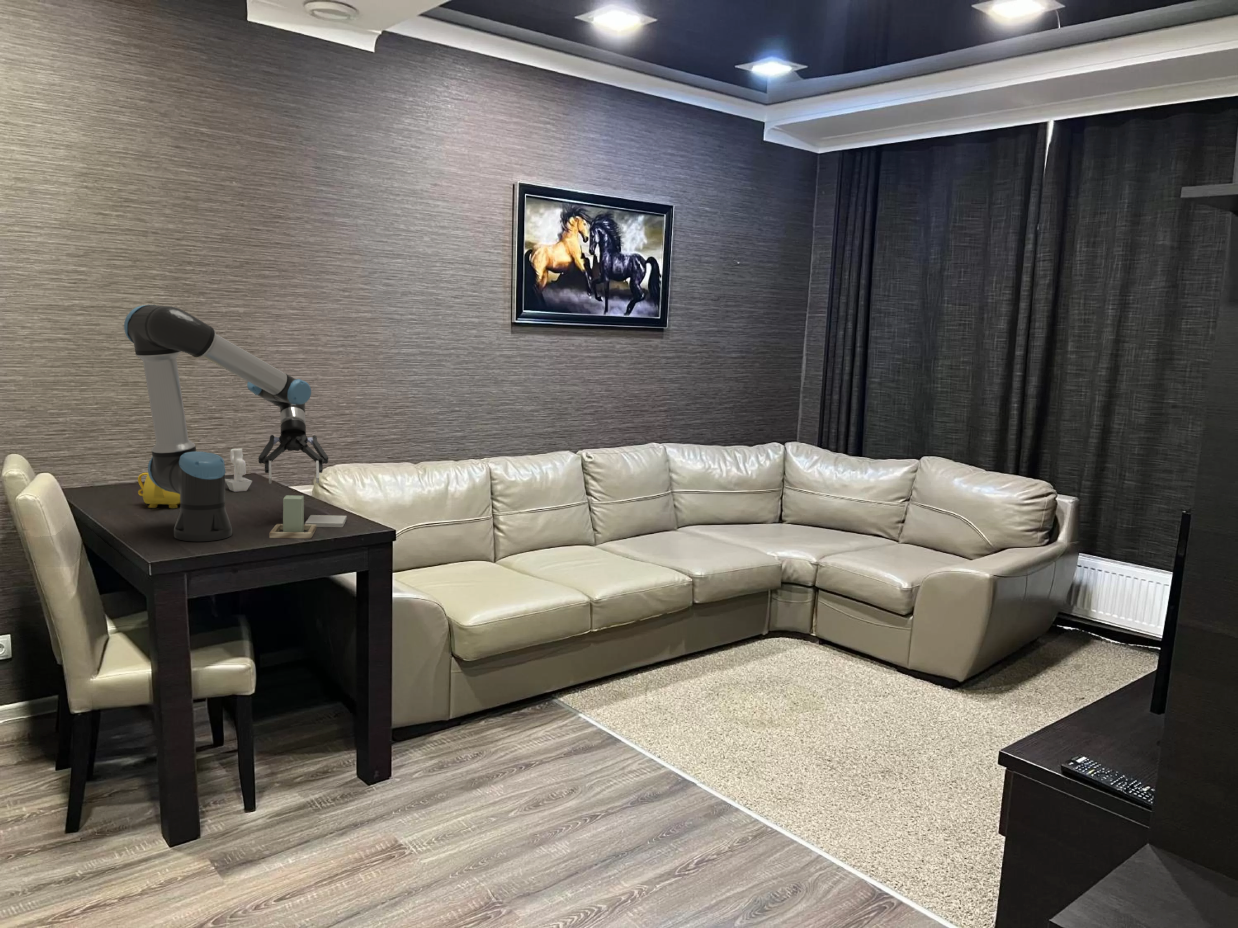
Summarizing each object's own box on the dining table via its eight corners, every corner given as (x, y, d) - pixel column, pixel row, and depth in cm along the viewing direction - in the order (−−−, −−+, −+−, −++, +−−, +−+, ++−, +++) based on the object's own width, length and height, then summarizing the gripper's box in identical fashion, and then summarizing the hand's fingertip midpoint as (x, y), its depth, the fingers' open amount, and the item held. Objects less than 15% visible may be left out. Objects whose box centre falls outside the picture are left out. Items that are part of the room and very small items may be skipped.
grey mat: (305, 526, 278) (305, 522, 277) (310, 518, 288) (310, 515, 288) (342, 527, 280) (342, 523, 280) (346, 519, 290) (346, 515, 290)
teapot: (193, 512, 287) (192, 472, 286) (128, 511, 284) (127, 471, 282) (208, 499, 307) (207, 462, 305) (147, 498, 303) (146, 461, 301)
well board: (269, 537, 262) (269, 532, 262) (276, 528, 273) (276, 523, 273) (310, 538, 264) (310, 533, 264) (316, 529, 275) (316, 524, 275)
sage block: (283, 535, 266) (283, 498, 264) (286, 531, 270) (286, 495, 269) (301, 535, 267) (301, 499, 265) (303, 531, 271) (303, 495, 270)
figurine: (233, 493, 319) (232, 451, 317) (222, 488, 326) (222, 447, 324) (253, 491, 324) (253, 450, 322) (243, 487, 331) (243, 446, 329)
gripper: (333, 432, 295) (336, 487, 283) (250, 432, 286) (250, 488, 274) (335, 418, 289) (337, 473, 278) (250, 417, 280) (249, 473, 269)
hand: (294, 480), depth 276 cm, fingers open, 13 cm apart
